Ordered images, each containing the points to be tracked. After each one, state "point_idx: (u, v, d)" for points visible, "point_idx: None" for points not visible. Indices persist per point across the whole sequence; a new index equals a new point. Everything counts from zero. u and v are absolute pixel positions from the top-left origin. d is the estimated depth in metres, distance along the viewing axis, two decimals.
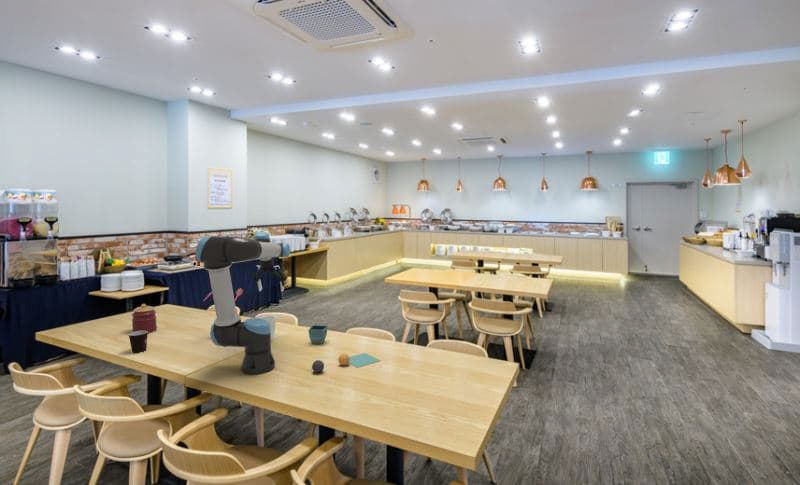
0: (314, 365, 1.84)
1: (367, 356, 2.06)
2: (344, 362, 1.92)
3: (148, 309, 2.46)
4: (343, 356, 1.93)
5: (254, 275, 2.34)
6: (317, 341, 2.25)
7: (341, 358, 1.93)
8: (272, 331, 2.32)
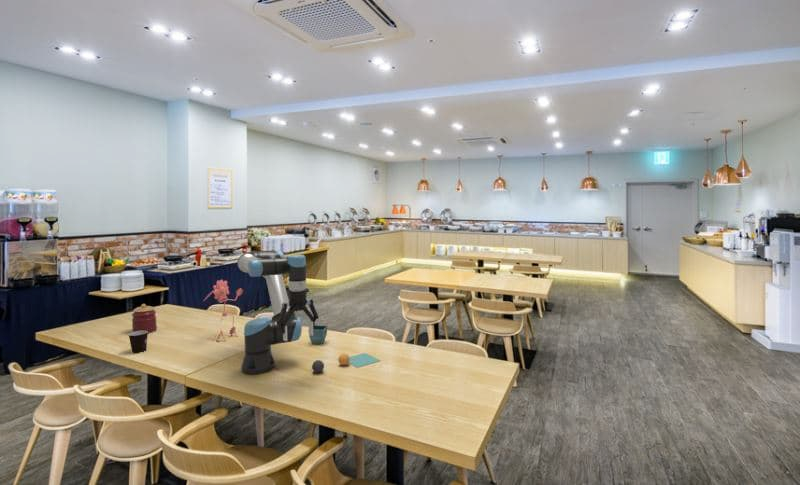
0: (314, 365, 1.84)
1: (367, 356, 2.06)
2: (344, 362, 1.92)
3: (148, 309, 2.46)
4: (343, 356, 1.93)
5: None
6: (317, 341, 2.25)
7: (341, 358, 1.93)
8: None
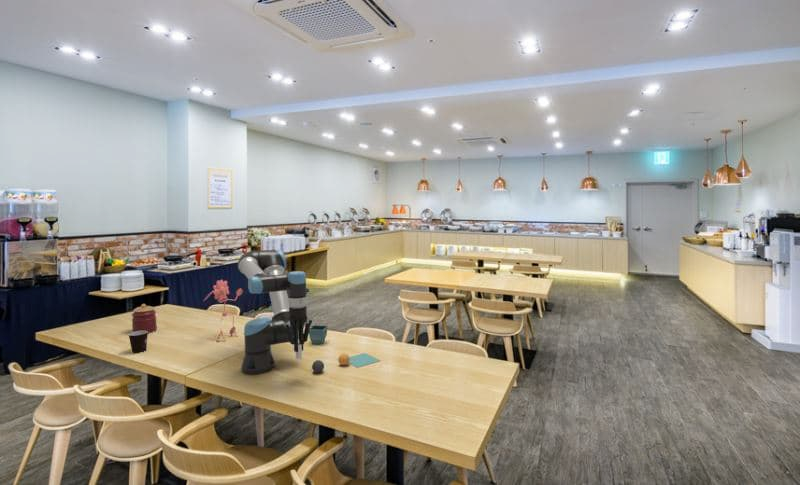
0: (314, 365, 1.84)
1: (367, 356, 2.06)
2: (344, 362, 1.92)
3: (148, 309, 2.46)
4: (343, 356, 1.93)
5: None
6: (317, 341, 2.25)
7: (341, 358, 1.93)
8: None
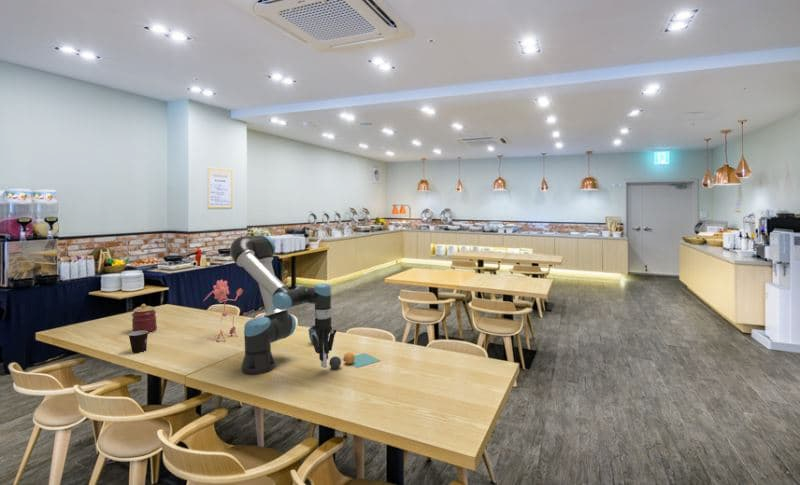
0: None
1: (367, 356, 2.06)
2: (349, 358, 1.94)
3: (148, 309, 2.46)
4: (352, 354, 1.96)
5: None
6: (317, 341, 2.25)
7: (350, 353, 1.96)
8: None
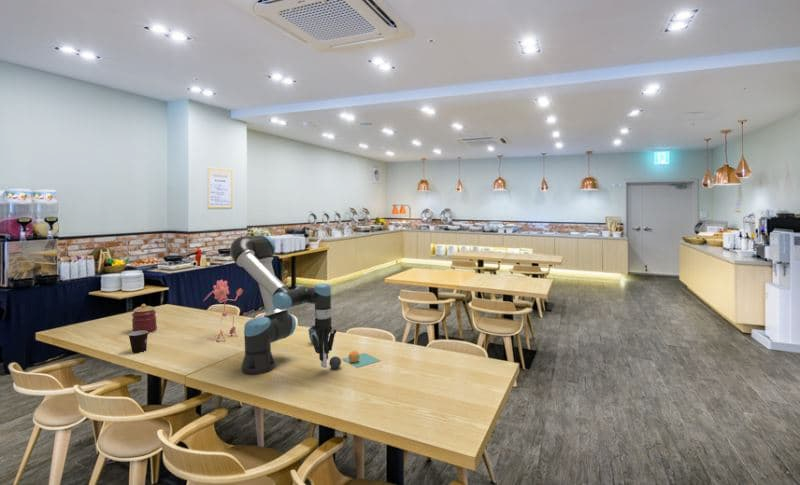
0: None
1: (367, 356, 2.06)
2: (356, 355, 1.97)
3: (148, 309, 2.46)
4: None
5: None
6: (317, 341, 2.25)
7: (358, 354, 1.99)
8: None
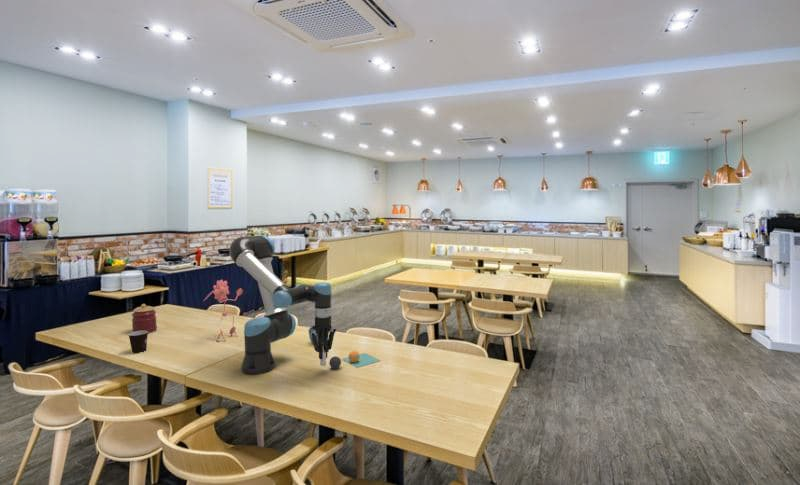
0: None
1: (367, 356, 2.06)
2: (356, 355, 1.97)
3: (148, 309, 2.46)
4: None
5: None
6: (317, 341, 2.25)
7: (358, 354, 1.99)
8: None
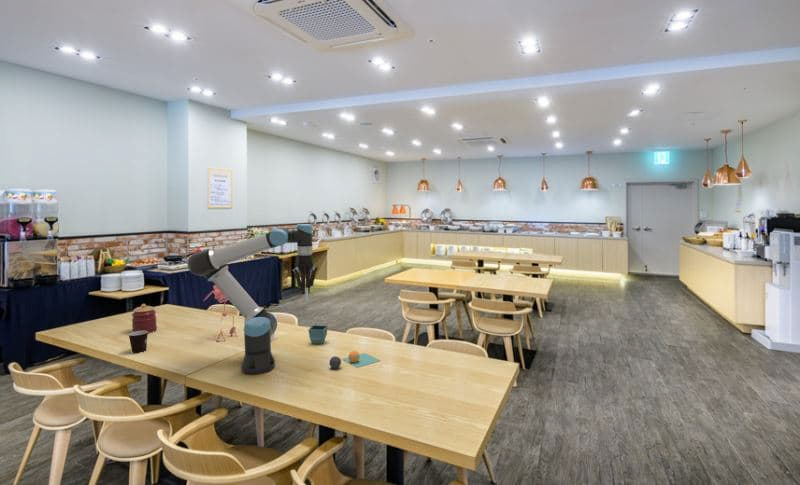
0: None
1: (367, 356, 2.06)
2: (356, 355, 1.97)
3: (148, 309, 2.46)
4: None
5: None
6: (317, 341, 2.25)
7: (358, 354, 1.99)
8: None
